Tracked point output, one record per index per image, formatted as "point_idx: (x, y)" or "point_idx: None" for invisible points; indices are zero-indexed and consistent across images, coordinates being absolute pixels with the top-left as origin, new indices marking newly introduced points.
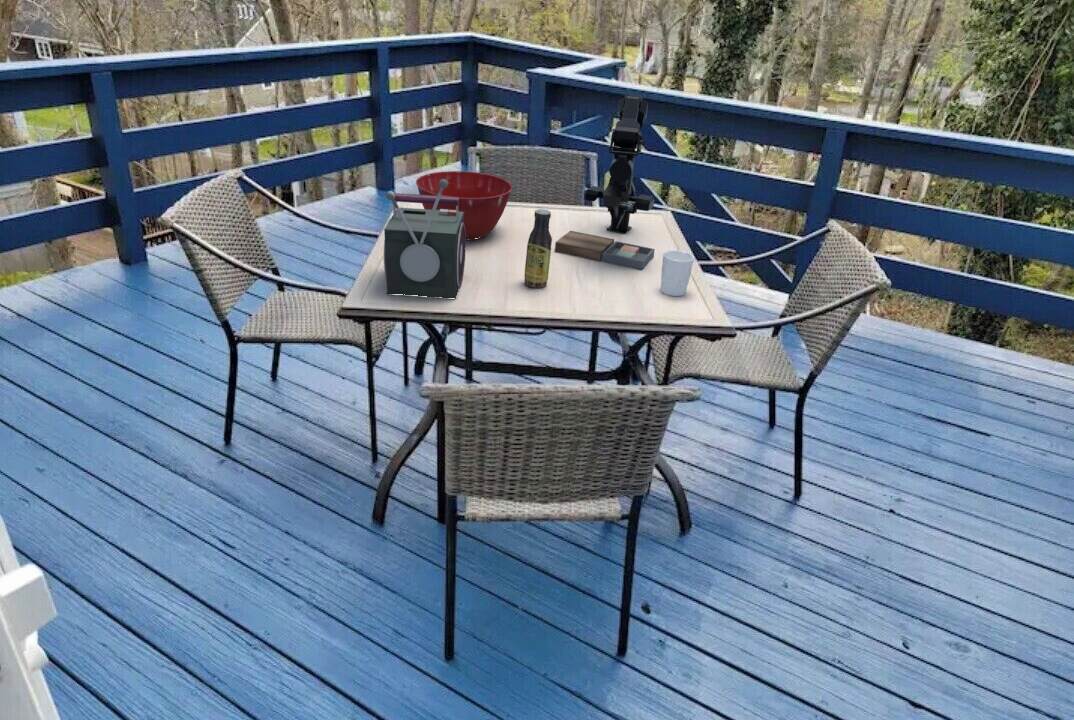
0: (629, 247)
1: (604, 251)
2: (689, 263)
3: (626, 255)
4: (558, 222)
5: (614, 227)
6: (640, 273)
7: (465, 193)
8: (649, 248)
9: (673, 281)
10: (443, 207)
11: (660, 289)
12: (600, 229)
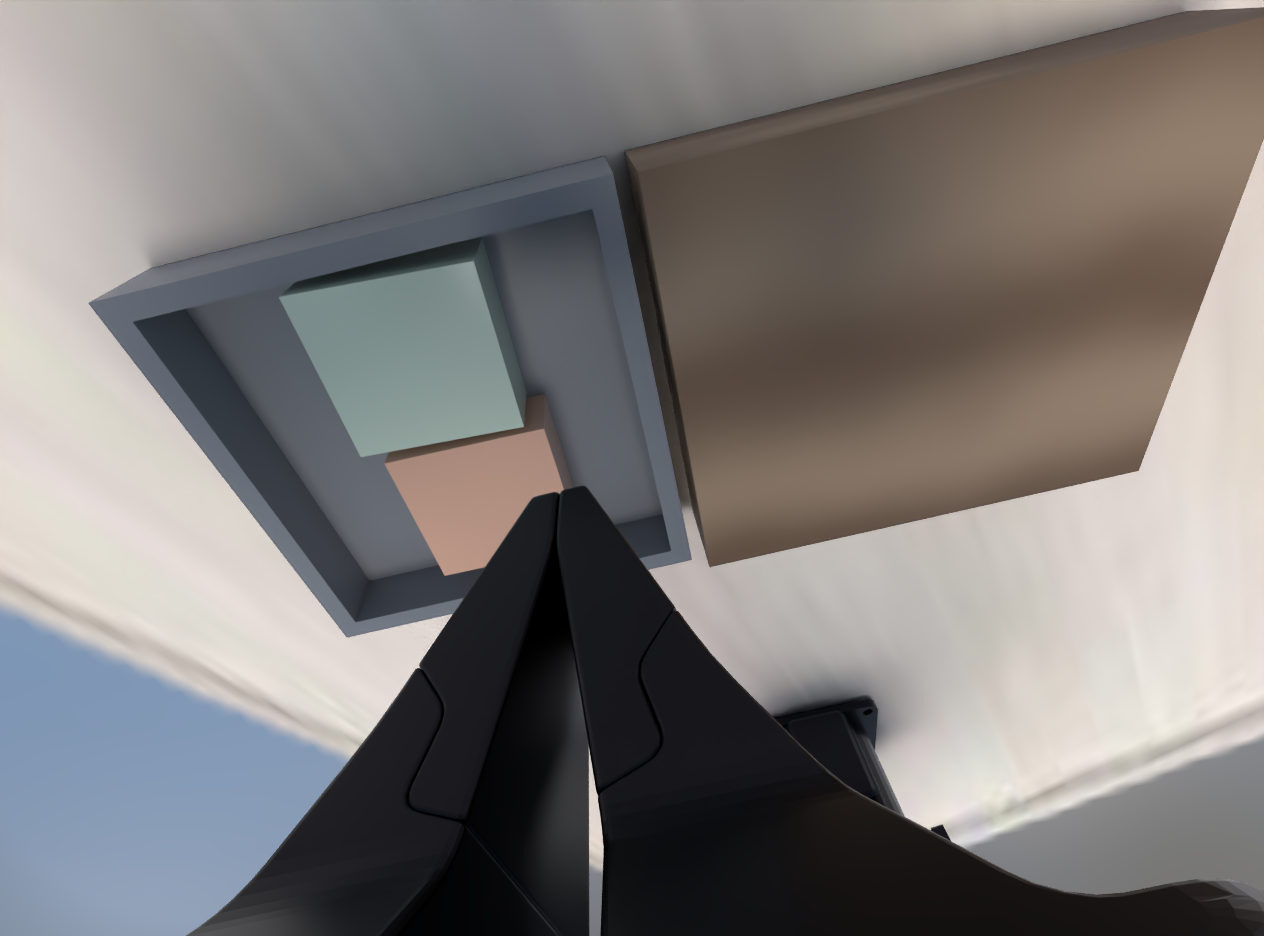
0: (507, 525)
1: (657, 302)
2: None
3: (363, 326)
4: (1195, 611)
5: (570, 491)
6: (66, 165)
7: None
8: (382, 618)
9: None
10: None
11: None
12: (910, 685)
